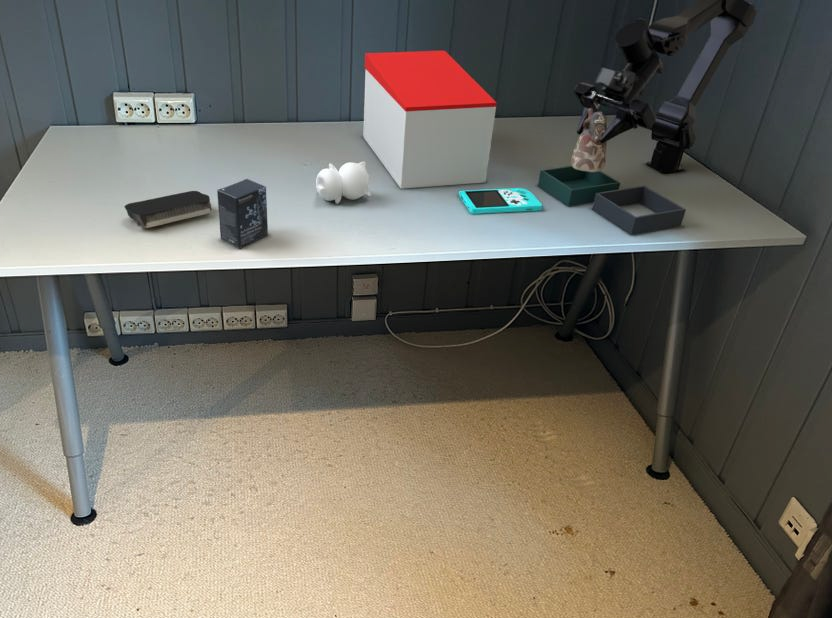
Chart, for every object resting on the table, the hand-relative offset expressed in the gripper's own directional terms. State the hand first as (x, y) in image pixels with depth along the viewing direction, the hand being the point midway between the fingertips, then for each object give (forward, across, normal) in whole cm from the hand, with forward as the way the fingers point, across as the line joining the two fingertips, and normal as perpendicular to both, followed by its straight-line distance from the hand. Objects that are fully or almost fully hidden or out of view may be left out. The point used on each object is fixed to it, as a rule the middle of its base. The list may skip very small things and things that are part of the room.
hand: (589, 137), depth 157 cm
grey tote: (+8, +15, +11) cm, 20 cm away
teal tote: (+8, -1, +10) cm, 13 cm away
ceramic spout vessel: (+4, 0, +6) cm, 7 cm away
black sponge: (+67, -37, -49) cm, 91 cm away
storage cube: (+21, -36, -2) cm, 42 cm away
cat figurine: (+42, -27, -24) cm, 55 cm away
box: (+61, -20, -43) cm, 77 cm away
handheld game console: (+22, -6, -3) cm, 23 cm away
